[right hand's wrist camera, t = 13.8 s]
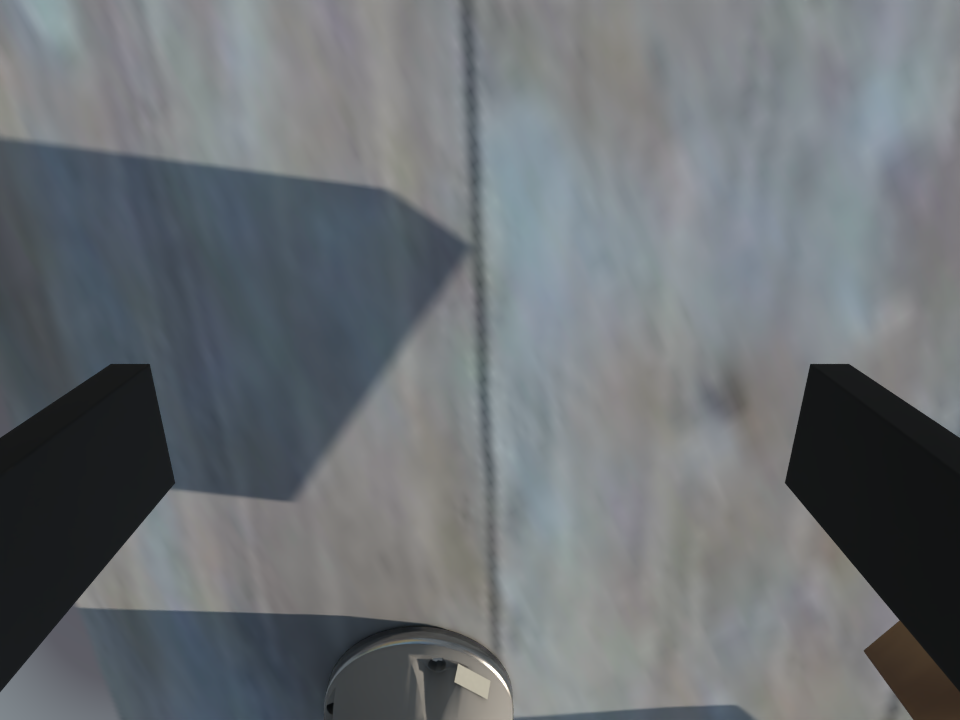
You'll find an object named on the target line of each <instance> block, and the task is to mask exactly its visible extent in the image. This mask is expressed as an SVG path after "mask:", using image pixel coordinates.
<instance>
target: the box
mask: <svg viewBox="0 0 960 720" xmlns="http://www.w3.org/2000/svg"><path fill="white" fill-rule="evenodd" d="M864 652H865V654H866V655H867V656H868V658H869V659H870V661H871V662H872V663H873V665H874V666H875V667H876V669H877V670H878V672H879V673H880V674H881V676H882V677H883V678H884V680H885V681H886V683H887V684H888V685H889V687H890V688H891V689H892V691H893V692H894V694H895V695H896V696H897V698H898V699H899V700H900V702H901V703H902V705H903V706H904V707H905V709H906V710H907V711H908V713H909V714H910V716H911V717H912V718H913V720H960V692H959V690H958V689H957V688H956V687H955V686H954V685H953V683H952V682H951V681H950V680H949V679H948V677H947V676H946V675H945V674H944V673H943V671H942V670H941V669H940V668H939V667H938V665H937V664H936V663H935V662H934V661H933V659H932V658H931V657H930V656H929V655H928V653H927V652H926V651H925V650H924V649H923V647H922V646H921V645H920V644H919V643H918V641H917V640H916V639H915V638H914V637H913V635H912V634H911V633H910V632H909V631H908V629H907V628H906V627H905V626H904V625H903V623H902V622H901V621H899V622H897V623H896V624H895V625H894V626H893V627H891V628H890V629H889V630H888V631H887V632H885V633H884V634H883V635H882V636H881V637H879V638H878V639H877V640H876V641H875V642H873V643H872V644H871V645H870V646H869V647H867V648H866V649H865V650H864Z"/></svg>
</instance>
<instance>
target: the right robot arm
mask: <svg viewBox="0 0 960 720" xmlns="http://www.w3.org/2000/svg"><path fill="white" fill-rule="evenodd" d="M174 484H175V481H174V476H173V471H172V467H171V462H170V457H169V453H168V448H167V443H166V439H165V434H164V429H163V425H162V420H161V415H160V411H159V406H158V401H157V396H156V392H155V387H154V382H153V378H152V373H151V368H150V364H110V365H109V366H107V367H106V368H104V369H103V370H101V371H100V372H98V373H97V374H95V375H94V376H92V377H91V378H89V379H88V380H86V381H85V382H83V383H82V384H80V385H79V386H77V387H76V388H74V389H73V390H71V391H70V392H68V393H67V394H65V395H64V396H62V397H61V398H59V399H58V400H56V401H55V402H53V403H52V404H50V405H49V406H47V407H46V408H44V409H43V410H41V411H40V412H38V413H37V414H35V415H34V416H32V417H31V418H29V419H28V420H26V421H25V422H23V423H22V424H20V425H19V426H17V427H16V428H14V429H13V430H11V431H10V432H8V433H7V434H5V435H4V436H2V437H1V438H0V692H1V690H2V689H3V688H4V687H5V686H6V685H7V683H8V682H9V681H10V680H11V678H12V677H13V676H14V675H15V674H16V673H17V671H18V670H19V669H20V668H21V667H22V665H23V664H24V663H25V662H26V661H27V659H28V658H29V657H30V656H31V655H32V653H33V652H34V651H35V650H36V649H37V647H38V646H39V645H40V644H41V643H42V641H43V640H44V639H45V638H46V637H47V635H48V634H49V633H50V632H51V631H52V629H53V628H54V627H55V626H56V625H57V623H58V622H59V621H60V620H61V619H62V618H63V616H64V615H65V614H66V613H67V612H68V610H69V609H70V608H71V607H72V606H73V604H74V603H75V602H76V601H77V600H78V598H79V597H80V596H81V595H82V594H83V592H84V591H85V590H86V589H87V588H88V586H89V585H90V584H91V583H92V582H93V580H94V579H95V578H96V577H97V576H98V574H99V573H100V572H101V571H102V570H103V568H104V567H105V566H106V565H107V564H108V562H109V561H110V560H111V559H112V558H113V557H114V555H115V554H116V553H117V552H118V551H119V549H120V548H121V547H122V546H123V545H124V543H125V542H126V541H127V540H128V539H129V537H130V536H131V535H132V534H133V533H134V531H135V530H136V529H137V528H138V527H139V525H140V524H141V523H142V522H143V521H144V519H145V518H146V517H147V516H148V515H149V513H150V512H151V511H152V510H153V509H154V507H155V506H156V505H157V504H158V503H159V501H160V500H161V499H162V498H163V497H164V496H165V494H166V493H167V492H168V491H169V490H170V488H171V487H172V486H173V485H174ZM785 484H786V485H787V486H788V487H789V488H790V490H791V491H792V492H793V493H794V494H795V496H796V497H797V498H798V499H799V500H800V501H801V503H802V504H803V505H804V506H805V507H806V509H807V510H808V511H809V512H810V513H811V515H812V516H813V517H814V518H815V519H816V521H817V522H818V523H819V524H820V525H821V527H822V528H823V529H824V530H825V531H826V533H827V534H828V535H829V536H830V537H831V539H832V540H833V541H834V542H835V543H836V545H837V546H838V547H839V548H840V549H841V551H842V552H843V553H844V554H845V555H846V557H847V558H848V559H849V560H850V561H851V562H852V564H853V565H854V566H855V567H856V568H857V570H858V571H859V572H860V573H861V574H862V576H863V577H864V578H865V579H866V580H867V582H868V583H869V584H870V585H871V586H872V588H873V589H874V590H875V591H876V592H877V594H878V595H879V596H880V597H881V598H882V600H883V601H884V602H885V603H886V604H887V606H888V607H889V608H890V609H891V610H892V612H893V613H894V614H895V615H896V616H897V618H898V619H899V620H900V621H901V622H902V623H903V625H904V626H905V627H906V628H907V629H908V631H909V632H910V633H911V634H912V635H913V637H914V638H915V639H916V640H917V641H918V643H919V644H920V645H921V646H922V647H923V649H924V650H925V651H926V652H927V653H928V655H929V656H930V657H931V658H932V659H933V661H934V662H935V663H936V664H937V665H938V667H939V668H940V669H941V670H942V671H943V673H944V674H945V675H946V676H947V677H948V679H949V680H950V681H951V682H952V683H953V685H954V686H955V687H956V688H957V689H958V690H959V692H960V438H959V437H958V436H956V435H955V434H953V433H952V432H950V431H949V430H947V429H946V428H944V427H943V426H941V425H940V424H938V423H937V422H935V421H934V420H932V419H931V418H929V417H928V416H926V415H925V414H923V413H922V412H920V411H919V410H917V409H916V408H914V407H913V406H911V405H910V404H908V403H907V402H905V401H904V400H902V399H901V398H899V397H898V396H896V395H895V394H893V393H892V392H890V391H889V390H887V389H886V388H884V387H883V386H881V385H880V384H878V383H877V382H875V381H874V380H872V379H871V378H869V377H868V376H866V375H865V374H863V373H862V372H860V371H859V370H857V369H856V368H854V367H853V366H851V365H850V364H810V368H809V373H808V378H807V382H806V387H805V392H804V396H803V401H802V406H801V411H800V415H799V420H798V425H797V429H796V434H795V439H794V443H793V448H792V453H791V457H790V462H789V467H788V471H787V476H786V481H785ZM513 713H514V712H513V695H512V686H511V682H510V679H509V676H508V674H507V672H506V670H505V668H504V667H503V665H502V664H501V663H500V661H499V660H498V659H497V658H496V657H495V656H494V655H493V654H492V653H491V652H490V651H489V650H488V649H486V648H485V647H484V646H482V645H481V644H479V643H478V642H476V641H474V640H472V639H470V638H468V637H466V636H464V635H461V634H458V633H455V632H452V631H448V630H444V629H439V628H433V627H402V628H395V629H390V630H386V631H383V632H379V633H377V634H374V635H372V636H369V637H367V638H365V639H363V640H362V641H360V642H358V643H357V644H355V645H354V646H353V647H351V648H350V649H349V650H348V651H347V652H346V653H345V654H344V655H343V656H342V657H341V658H340V660H339V661H338V662H337V664H336V666H335V667H334V669H333V672H332V674H331V677H330V680H329V684H328V688H327V692H326V695H325V700H324V720H513Z"/></svg>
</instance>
